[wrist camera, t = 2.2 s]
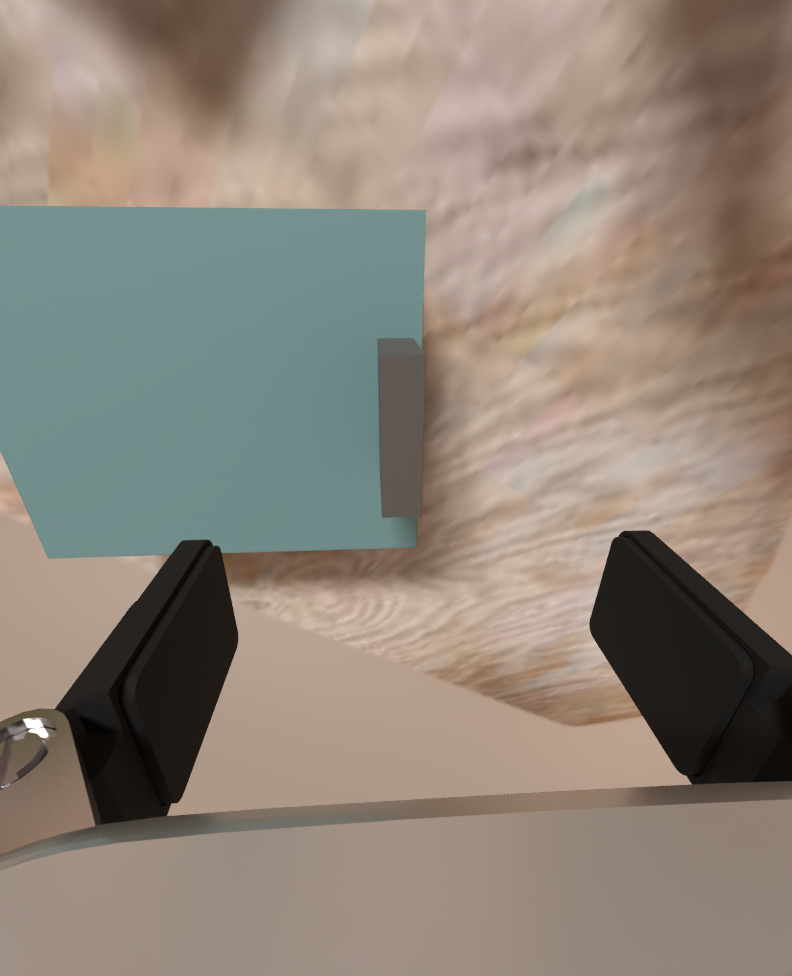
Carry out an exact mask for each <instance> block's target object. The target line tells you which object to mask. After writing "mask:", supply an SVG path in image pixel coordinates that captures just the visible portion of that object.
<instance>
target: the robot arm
mask: <svg viewBox="0 0 792 976" xmlns="http://www.w3.org/2000/svg"><path fill="white" fill-rule="evenodd" d="M590 631H591V634H592V636H593V638H594V640H595V641H596V643H597V644H598V646H599V648H600V649H601V651H602V652H603V654H604V655H605V657H606V659H607V660H608V662H609V663H610V665H611V667H612V668H613V670H614V671H615V673H616V674H617V676H618V678H619V679H620V681H621V682H622V684H623V686H624V687H625V689H626V690H627V692H628V693H629V695H630V697H631V698H632V700H633V701H634V703H635V705H636V706H637V708H638V709H639V711H640V712H641V714H642V716H643V717H644V719H645V720H646V722H647V723H648V725H649V727H650V728H651V730H652V731H653V733H654V735H655V736H656V738H657V739H658V741H659V743H660V744H661V746H662V747H663V749H664V750H665V752H666V754H667V755H668V757H669V758H670V760H671V762H672V763H673V765H674V766H675V768H676V769H677V770H678V771H679V772H680V773H681V774H683V775H686V776H687V777H688V779H689V780H690V782H691V783H692V785H677V786H657V787H636V788H616V789H595V790H577V791H558V792H541V793H521V794H504V795H485V796H468V797H449V798H432V799H415V800H398V801H382V802H366V803H349V804H334V805H333V804H332V805H317V806H300V807H283V808H267V809H253V810H240V811H229V812H215V813H203V814H190V815H180V816H167V814H168V811H169V808H170V806H171V803H178V802H179V801H180V799H181V798H182V796H183V793H184V791H185V788H186V785H187V783H188V780H189V777H190V774H191V772H192V769H193V766H194V763H195V761H196V758H197V755H198V753H199V750H200V747H201V744H202V742H203V739H204V736H205V734H206V731H207V728H208V725H209V723H210V720H211V717H212V714H213V712H214V709H215V706H216V703H217V701H218V698H219V695H220V693H221V690H222V687H223V684H224V682H225V679H226V676H227V673H228V670H229V668H230V665H231V662H232V660H233V657H234V654H235V651H236V649H237V644H238V631H237V626H236V621H235V616H234V612H233V606H232V601H231V597H230V592H229V587H228V582H227V577H226V572H225V567H224V563H223V558H222V553H221V549H220V547H219V546H213V544H212V542H211V541H210V540H183V541H181V542H180V543H179V545H178V546H177V547H176V549H175V550H174V551H173V553H172V554H171V555H170V557H169V558H168V559H167V561H166V562H165V564H164V565H163V566H162V568H161V569H160V570H159V572H158V573H157V574H156V576H155V577H154V579H153V580H152V581H151V583H150V584H149V586H148V587H147V588H146V589H145V591H144V592H143V594H142V595H141V596H140V598H139V599H138V600H137V601H136V602H135V603H134V604H133V605H132V606H131V607H130V608H129V610H128V611H127V612H126V614H125V615H124V616H123V618H122V619H121V621H120V622H119V623H118V625H117V626H116V627H115V629H114V630H113V631H112V633H111V634H110V635H109V637H108V638H107V640H106V641H105V642H104V643H103V645H102V646H101V647H100V649H99V650H98V652H97V653H96V654H95V656H94V657H93V658H92V660H91V661H90V662H89V664H88V665H87V667H86V668H85V669H84V670H83V672H82V673H81V675H80V676H79V677H78V679H77V680H76V681H75V683H74V684H73V685H72V687H71V688H70V689H69V691H68V692H67V693H66V695H65V696H64V697H63V699H62V700H61V701H60V703H59V704H58V705H57V707H56V708H55V709H36V710H31V711H26V712H23V713H20V714H18V715H15V716H13V717H11V718H8V719H5V720H3V721H2V722H0V976H792V655H791V654H789V652H787V651H786V650H785V649H784V648H783V647H782V646H781V645H779V644H778V643H777V642H776V641H775V640H774V639H773V638H771V637H770V636H769V635H768V634H767V633H766V632H765V631H763V630H762V629H761V628H760V627H759V626H758V625H757V624H755V623H754V622H753V621H752V620H751V619H750V618H749V617H748V616H747V615H745V614H744V613H743V612H742V611H741V610H740V609H739V608H737V607H736V606H735V605H734V604H733V603H732V602H731V601H730V600H728V599H727V598H726V597H725V596H724V595H723V594H722V593H720V592H719V591H718V590H717V589H716V588H715V587H714V586H712V585H711V584H710V583H709V582H708V581H707V580H706V579H705V578H703V577H702V576H701V575H700V574H699V573H698V572H697V571H695V570H694V569H693V568H692V567H691V566H690V565H689V564H687V563H686V562H685V561H684V560H683V559H682V558H681V557H680V556H678V555H677V554H676V553H675V552H674V551H673V550H672V549H670V548H669V547H668V546H667V545H666V544H665V543H664V542H663V541H661V540H660V539H659V538H658V537H657V536H656V535H655V534H653V533H652V532H650V531H623V532H621V534H620V535H619V537H616V538H614V539H613V541H612V544H611V547H610V551H609V555H608V558H607V562H606V565H605V569H604V572H603V576H602V579H601V583H600V586H599V590H598V594H597V597H596V601H595V604H594V608H593V611H592V615H591V618H590Z"/></svg>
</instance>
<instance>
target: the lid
mask: <svg viewBox="0 0 792 976" xmlns="http://www.w3.org/2000/svg"><path fill="white" fill-rule="evenodd" d="M425 221H426V210H362V209H263V208H164V207H65V206H0V451H1V453H2V455H3V457H4V460H5V462H6V464H7V466H8V469H9V471H10V473H11V476H12V478H13V480H14V482H15V485H16V487H17V489H18V491H19V494H20V496H21V498H22V500H23V503H24V505H25V507H26V509H27V512H28V514H29V516H30V518H31V521H32V523H33V525H34V527H35V530H36V532H37V534H38V536H39V539H40V541H41V543H42V545H43V548H44V550H45V552H46V554H47V557H48V558H79V557H113V556H147V555H171V554H172V553H173V551H174V550H175V549H176V547H177V546H178V545H179V543H180V542H181V541H183V540H210V541H211V542H212V544H213V546H219V547H220V549H221V553H248V552H282V551H315V550H349V549H383V548H416V546H417V517H421V498H422V466H423V435H424V404H425V373H426V354H425V353H424V352H423V350H422V329H423V293H424V257H425Z"/></svg>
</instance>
